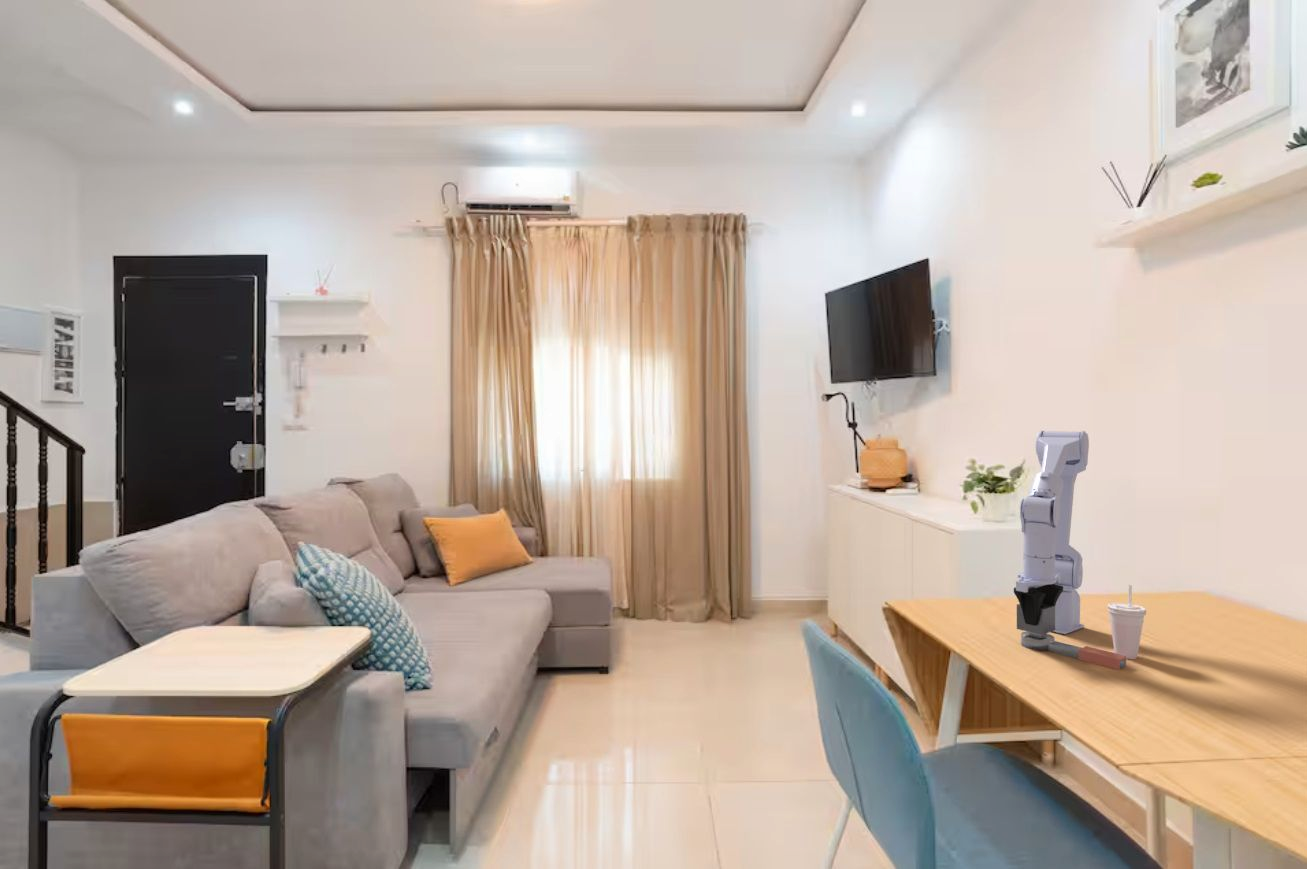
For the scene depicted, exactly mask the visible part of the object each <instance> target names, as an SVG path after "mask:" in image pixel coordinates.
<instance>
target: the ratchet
mask: <svg viewBox="0 0 1307 869" xmlns="http://www.w3.org/2000/svg"><path fill="white" fill-rule="evenodd" d="M1020 634H1021V635H1020V636H1021V638H1020V644H1021V646H1022V647H1024V648H1026V649H1028V650H1031V651H1032V650H1033V651H1037V652H1038V651H1039V652H1051V653H1054V654H1058V655H1060V656H1061V655H1063V656H1066V657H1070V658H1074V659H1077V660H1079V661H1084V662H1088V663H1090V664H1095V665H1097V666H1098V665H1099V666H1102V667H1107V668H1110V669H1115V670H1118V671H1120V670H1121V669H1124V668H1126V667H1127V659H1126V656H1124V655H1120V654H1116V653H1114V652H1113V651H1112V652H1111V651H1108V650H1104V649H1099V648H1095V647H1092V646H1083V647H1082V646H1077V645H1072V644H1069V643H1065V642H1061V641H1056V640H1055V638H1056V637H1055V635H1051V634H1049V633H1046V634H1044V635H1042V634H1037V633H1033V632H1028V631H1022V632H1021V633H1020Z"/></svg>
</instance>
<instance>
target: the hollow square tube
mask: <svg viewBox="0 0 1307 869" xmlns="http://www.w3.org/2000/svg"><path fill="white" fill-rule="evenodd" d="M1016 630H1021V631H1023V632H1026V631H1028V632H1033V633H1037V634H1042V635H1044V634H1046V633H1047V634H1049V633H1051V632H1053V631H1054V630H1055V606H1054V605H1048V604H1043V603H1042V604H1041V607H1040V613H1039V620H1038V623H1037V625H1036V626H1034V625H1030V624H1026V623H1025V620H1024V617H1023V612H1022V609H1021V605H1020V603H1018V604H1016Z"/></svg>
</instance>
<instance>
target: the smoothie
mask: <svg viewBox="0 0 1307 869" xmlns="http://www.w3.org/2000/svg"><path fill="white" fill-rule="evenodd" d="M1127 588H1128V591H1127V592H1128V594H1127V596H1128V598H1127V603H1125V602H1111V603H1110V602H1109V603H1108V604H1107V608H1106V609H1107V611H1108V612H1109V620H1110V628H1111V636H1112V644H1113V653H1116V654H1120V655H1124V656H1126V660H1127V659H1128V660H1135V659H1138V655H1139V649H1140V648H1139V647H1140V642H1141V638H1142V637H1141V636H1142V630H1143V624H1144V618H1145V616H1147V609H1146V607H1144V606H1141V605H1136V604H1132V599H1133V598H1132V596H1133V595H1132V594H1133V593H1132V592H1133V590H1132V589H1133V585H1132V584H1128V587H1127Z"/></svg>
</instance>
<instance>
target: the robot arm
mask: <svg viewBox="0 0 1307 869" xmlns="http://www.w3.org/2000/svg"><path fill="white" fill-rule="evenodd" d="M1089 447H1090V441H1089V434H1088V433H1087V432H1086V431H1085V430H1082V431H1081V430H1080V431H1049V430H1048V431H1046V430H1040V431H1039V432H1038V433H1037V434H1036V437H1035V453H1036V455H1037V459H1038V462H1039V465H1040V469H1041V470H1040V472H1037V473H1036V474H1035V475H1034V476H1033V477H1032V482H1031V485H1030V488H1029V491H1028V495H1027V496H1026V497H1025V498H1022V499H1021V502H1020V508H1019V517H1020V523H1021V524H1020V525H1021V532H1022V533H1023V545H1022V547H1023V548H1022V549H1023V550H1022V552H1023V553H1022V554H1023V556H1022V557H1023V559H1022V573H1017V578H1019V579H1018V580H1016V581H1015V587H1014V588H1013V593H1014V596H1016V599H1017V601H1018V604H1020V605H1021V609H1022V612H1023V617H1024V620H1025V623H1026V624H1030V625H1034V626H1036V625H1037V623H1038V620H1039V613H1040V607H1041V604H1042V603H1043V604H1048V605H1054V606H1055V630H1054V631H1052V632H1054V633H1057V634H1063V635H1068V634H1069V633H1072V632H1075V631H1078V630H1080V629H1082V628H1085V624H1082V623H1081V597H1080V594H1079V592H1078V591H1077V590H1079V588H1081V586H1082V582H1083V578H1084V577H1083V575H1084V574H1083V573H1084V571H1083V570H1084V569H1083V557H1082V555H1081V553H1080V552H1079V551H1077V550H1076V549H1075V548H1074V547H1072V546H1071V545H1070V538H1071V526H1072V518H1073V517H1072V515H1073V505H1074V504H1073V502H1074V493H1075V492H1074V491H1075V485H1076V484H1075V483H1076V479H1077V476H1078V474H1080V473H1082V472H1085V471H1086V469H1087V466H1088V462H1089V461H1088V460H1089V449H1090V448H1089Z"/></svg>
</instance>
